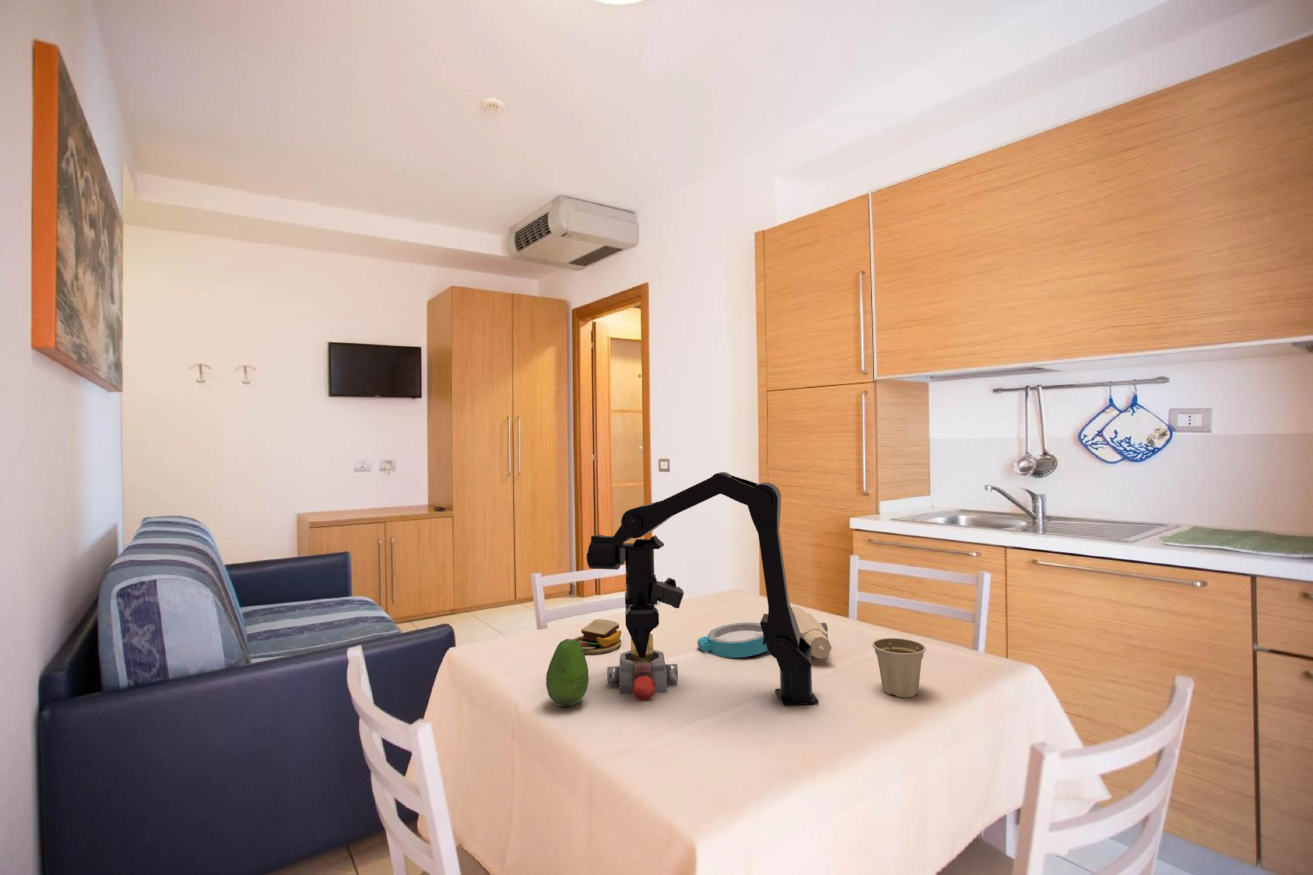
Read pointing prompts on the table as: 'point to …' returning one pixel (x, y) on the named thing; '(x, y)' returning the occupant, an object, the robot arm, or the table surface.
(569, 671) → the avocado
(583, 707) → the table surface
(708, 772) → the table surface
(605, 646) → the toy sandwich meal
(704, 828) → the table surface
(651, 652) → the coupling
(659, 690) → the valve
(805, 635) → the butterfly valve
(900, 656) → the flower pot
